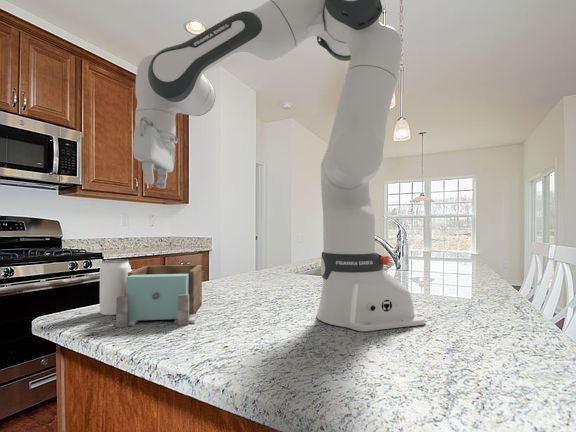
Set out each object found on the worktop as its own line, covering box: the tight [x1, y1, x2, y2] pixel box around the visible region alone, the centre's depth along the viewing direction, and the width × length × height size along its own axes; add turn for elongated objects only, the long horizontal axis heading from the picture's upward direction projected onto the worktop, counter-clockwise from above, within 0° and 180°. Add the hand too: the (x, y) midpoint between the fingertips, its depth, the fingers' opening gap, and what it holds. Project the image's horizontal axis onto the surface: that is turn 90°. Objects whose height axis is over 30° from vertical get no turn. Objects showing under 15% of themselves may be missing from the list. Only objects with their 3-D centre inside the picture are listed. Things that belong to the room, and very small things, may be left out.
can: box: [99, 258, 132, 317], centre depth 76 cm, size 6×6×12 cm
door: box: [127, 274, 189, 321], centre depth 69 cm, size 12×4×9 cm, turn 96°
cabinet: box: [112, 264, 203, 328], centre depth 74 cm, size 16×17×10 cm
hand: (155, 186), depth 76 cm, fingers open, 8 cm apart
